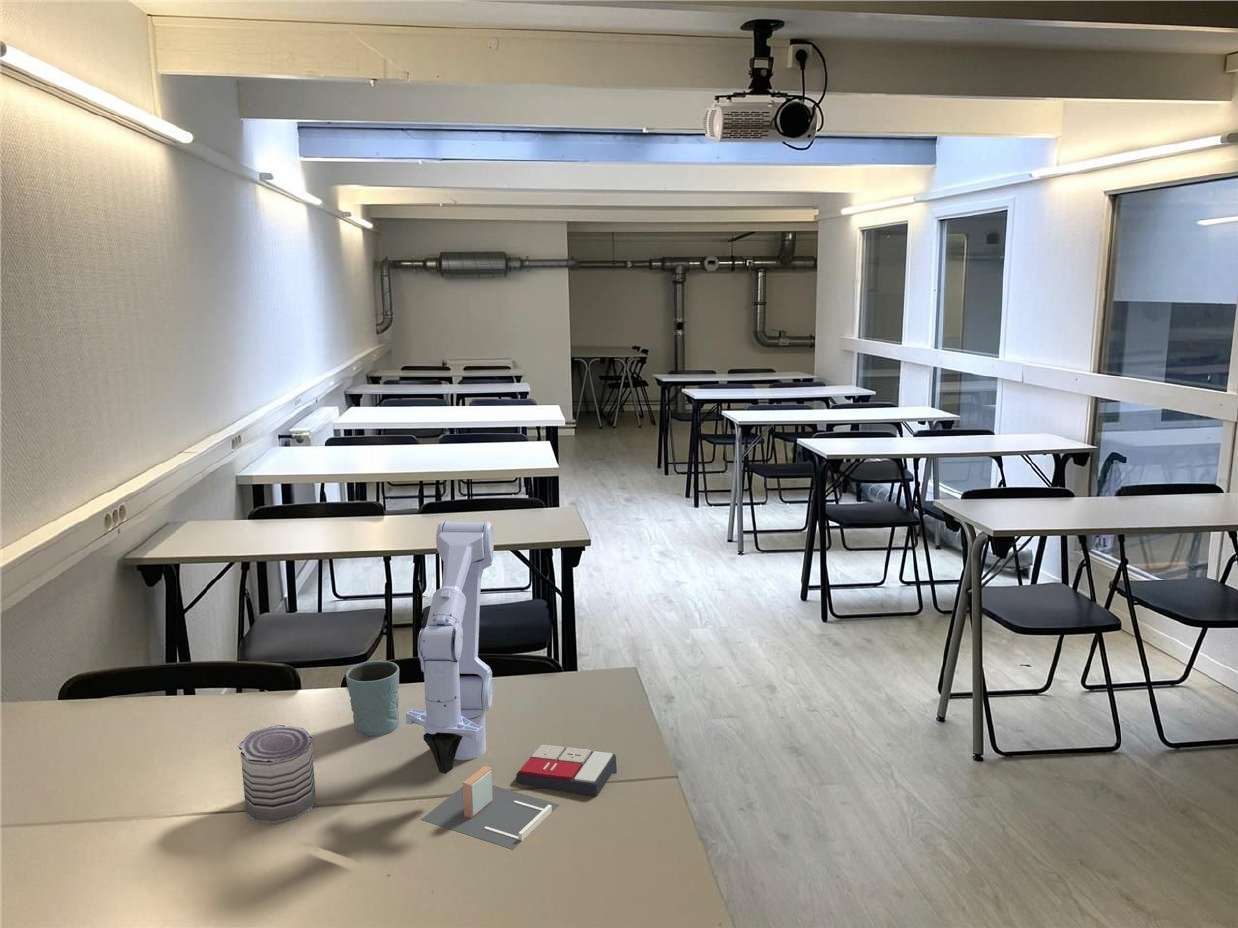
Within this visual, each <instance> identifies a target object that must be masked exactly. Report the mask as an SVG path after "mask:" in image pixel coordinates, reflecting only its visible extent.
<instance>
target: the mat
mask: <svg viewBox="0 0 1238 928" xmlns="http://www.w3.org/2000/svg"><path fill="white" fill-rule="evenodd" d="M492 792H493V801H492V802H490V803H489V804H488V805H487V806H486V807H484V808H483V809H482V810H481V811H480V812H479V813H477V814H476V815H475V816H474V817H473V818H469V817H466V816H464V800H463V785H462V787H460V788H458V790H456V791H455V792H454V793H452V794H451V795H449V797H447V798H446V799H444V801H442V802H441V803H439V805H437V806H436V807H434V808H433V809H432V810H431V811H429V812H428V813H427V814H425V815H424V816H423V817H422V818H421V819H420V821H424V822H427V823H430V824H433V825H436V826H439V827H441V828H445V829H448V830H452V831H453V832H454V831H455V832H457V833H461V834H464V835H467V836H469V837H473V838H475V839H479V840H482V841H485V842H488V843H492V844H494V845H498V846H501V847H503V848H507V849H509V850H515V848H517V847H518V845H520V843H522V842H523V841H524V840H525V839H526V838H527V837H529V835H530V834H531V833H532V832H534V830H535V829H537V828H538V826H539V825H540V824H542V823H543V822H544V820H546V819H547V818H548V817H549V816H550V815H552V813H553V812H554V811H555V810H556V809H557V808H558V807H559V806H560V804H558V803H555V802H552V801H549V800H545V799H542V798H538V797H534V796H531V795H528V794H524V793H521V792H518V791H514V790H511V789H507V788H503V787H500V786H496V785H493V784H492Z"/></svg>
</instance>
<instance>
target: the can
mask: <svg viewBox="0 0 1238 928" xmlns="http://www.w3.org/2000/svg"><path fill="white" fill-rule="evenodd" d="M314 740H315V738H313V737H312V736H311V735H310V733H308V731H307V730H306V729H305V728H304V727H302V726H301V727H299V726H289V725H282V724H276V725H273V726H269V727H265V728H262V729H258V730H255V731H250V732H249V734H248V735H247V736H246V737H245V738H244V739H243V740H242V741H241V742H240V743H239V744H238V745H237V747H238V749H239V750H240V759H241V760H240V761H241V763H240V764H241V772H242V782H243V784H242V785H243V794H244V806H245V814H246V815H247V816H248V817H249V818H250V819H251V820H252V821H254V822H255V823H260V824H261V823H262V824H272V825H275V824H279V823H284V822H287V821H291V820H296V819H298V818H300V817H301V816H303V815H304V814H305V812H306V813H307V812H308V810H309V811H310V810H312V809H313V808H314V803H315V801H316V798H317V794H316V782H315V781H316V780H315V770H314V769H315V767H314V755H313V742H314ZM315 797H316V798H315ZM312 807H313V808H312ZM311 808H312V809H311ZM302 814H303V815H302Z"/></svg>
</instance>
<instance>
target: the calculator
mask: <svg viewBox="0 0 1238 928" xmlns="http://www.w3.org/2000/svg"><path fill="white" fill-rule="evenodd" d="M617 772H618V769H617V755H616V754H615V753H612V752H607V751H606V752H603V751H596V750H595V751H592V750H591V749H587V748H578V747H577V748H576V747H567V748H565V747H564V746H559V745H549V744H540V746H539V747H538V748H536V750H535V751H534V752H533V754H532V755H531V756H530V757H529V758H528V759H527V761H526V762H524V764H523V765H522V767H521V768H520V769H519V770H518V772H517V773H516V774H515V776H516V783H517V784H521V785H526V786H533V787H537V788H542V789H543V788H544V789H549V790H554V791H559V792H566V793H569V794H570V793H571V794H575V795H581V796H587V797H594V798H596V797H598V796H599V795H600V793H601V791H602V790H603V788H604V787H605V785H606V784H607V783H608V781H609V779H610V777H611V776H612V775H617Z"/></svg>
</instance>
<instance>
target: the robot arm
mask: <svg viewBox="0 0 1238 928" xmlns="http://www.w3.org/2000/svg"><path fill="white" fill-rule="evenodd" d="M494 541H495V534H494V527H493V524H492V523H491V521H485V522H484V521H479V522H478V521H475V522H474V521H444V520H442V521H441V522H440V523H439V524H438V525H437V529H436V534H435V542H436V544H435V545H436V550H437V552H438V554H439V557H440V559H441V561H442V562H443V571H442V579H441V587H440V588H438V589H436V590H435V592H434V593H433V595H432V599H431V603H430V608H429V613H428V617H427V621H426V625H425V627H424V628H421V629H420V631H419V634H418V641H417V652H418V659H419V661H420V669H421V672H423V680H424V700H425V702H424V703H425V709H423V710H422V709H416V708H412V709H411V710H409V711H407V712H406V713H405V721H406V725H414V724H415V725H419V726H422V727H423V728H424V732H425V733H424V735H423V737H422V738H423V740H424V742H425V743H426V745H427V746H428V747H429V749H430V751H431V753H432V755H433V758H434V760H435V763H436V766H437V770H438V772H439V773H441V774H444V775H446V774H447V773H449V772H450V771H452V770H453V768H454V763H455V760H458V761H470V760H475V759H477V758H480V757H481V756H483V755H485V753H486V752H487V735H486V734H487V733H486V712H487V711H488V710H489V709H490V708H491V707H492V704H493V695H494V685H493V684H494V683H493V671H492V669H491V667H490V666H489V665H488V664H486V663H485V662H484V661H482V659H480V657H479V637H480V634H479V633H480V611H481V609H480V607H481V590H482V589H481V586H482V585H481V583H482V578H483V573H484V570H486V569H487V568H489V567H491V566H492V565H493V560H494V544H495V542H494ZM460 674H470V675H468V676H467V675H460ZM472 674H475V676H473V675H472ZM476 675H478V676H476Z"/></svg>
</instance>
